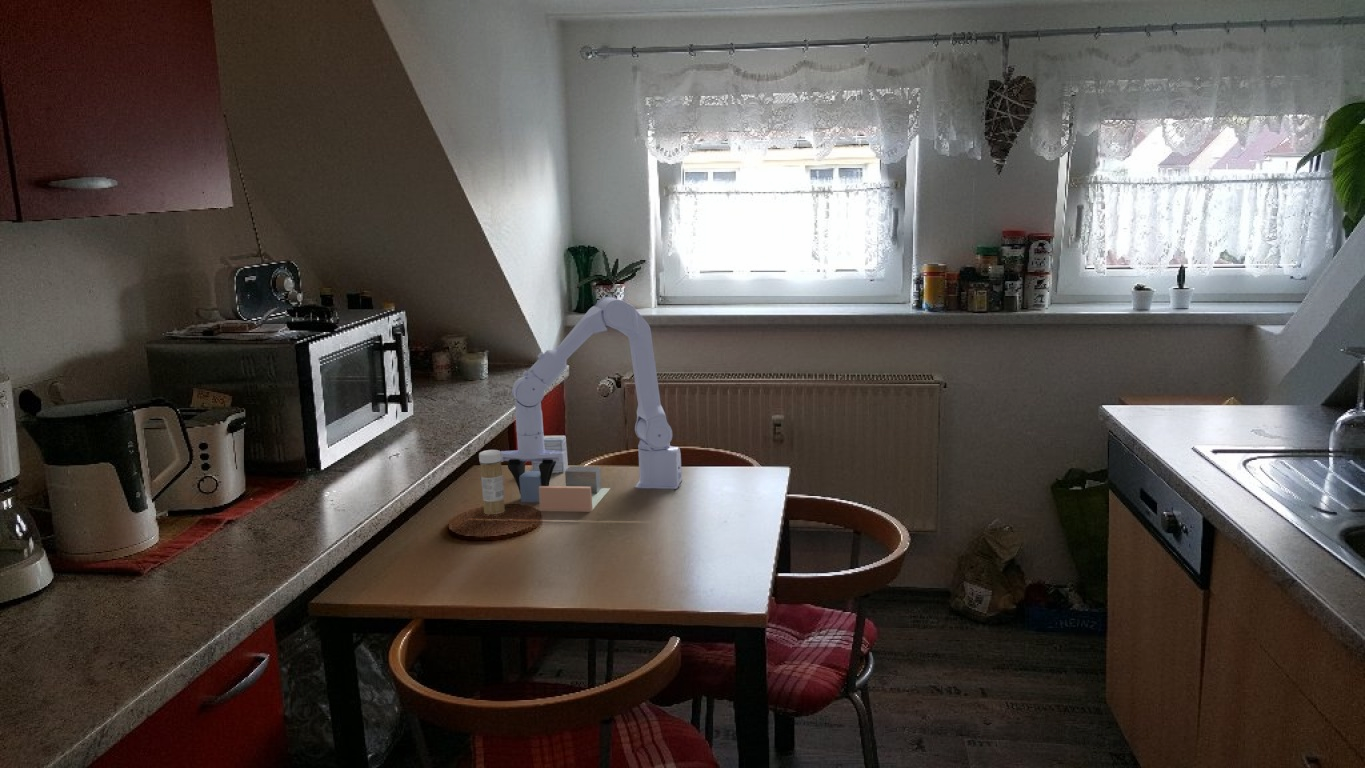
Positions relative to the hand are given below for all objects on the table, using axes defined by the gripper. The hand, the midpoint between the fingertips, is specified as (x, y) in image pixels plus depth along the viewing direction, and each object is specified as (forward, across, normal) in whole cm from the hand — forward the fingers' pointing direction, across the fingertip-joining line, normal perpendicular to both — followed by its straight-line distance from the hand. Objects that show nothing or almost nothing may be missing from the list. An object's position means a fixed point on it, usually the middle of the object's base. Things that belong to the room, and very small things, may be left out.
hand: (534, 493), depth 213 cm
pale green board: (+2, -10, 0) cm, 10 cm away
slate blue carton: (+2, 0, 0) cm, 2 cm away
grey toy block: (+1, -10, -6) cm, 11 cm away
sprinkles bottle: (+2, +6, +10) cm, 12 cm away
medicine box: (+2, +4, -23) cm, 23 cm away
